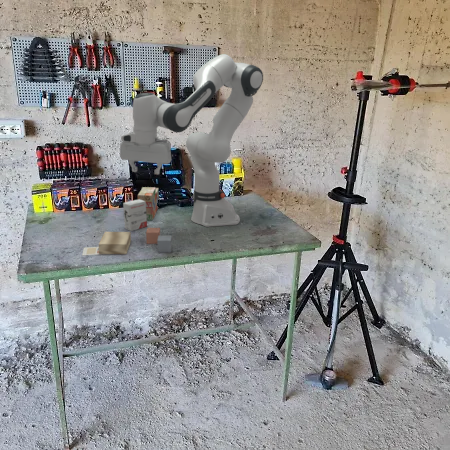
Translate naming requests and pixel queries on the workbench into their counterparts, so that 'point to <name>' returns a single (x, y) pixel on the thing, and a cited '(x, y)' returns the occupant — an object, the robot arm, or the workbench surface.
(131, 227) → the ink box
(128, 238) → the base brick
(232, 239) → the workbench surface
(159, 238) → the grey brick
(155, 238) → the terracotta brick
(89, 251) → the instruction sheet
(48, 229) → the workbench surface
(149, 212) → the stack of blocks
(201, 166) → the robot arm
